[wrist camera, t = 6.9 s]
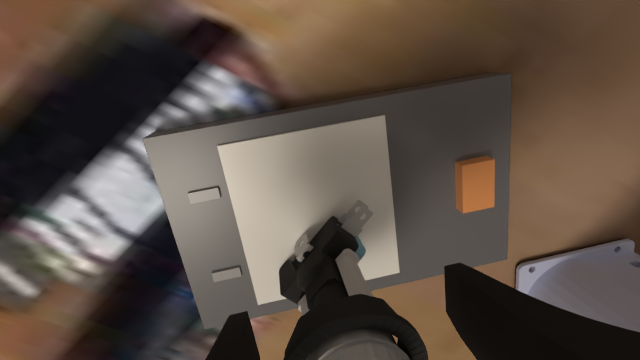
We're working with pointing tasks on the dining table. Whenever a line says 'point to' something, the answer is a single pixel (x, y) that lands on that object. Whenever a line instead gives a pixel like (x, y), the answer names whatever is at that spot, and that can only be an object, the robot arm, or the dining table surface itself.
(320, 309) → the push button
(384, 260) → the control panel
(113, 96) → the dining table surface
